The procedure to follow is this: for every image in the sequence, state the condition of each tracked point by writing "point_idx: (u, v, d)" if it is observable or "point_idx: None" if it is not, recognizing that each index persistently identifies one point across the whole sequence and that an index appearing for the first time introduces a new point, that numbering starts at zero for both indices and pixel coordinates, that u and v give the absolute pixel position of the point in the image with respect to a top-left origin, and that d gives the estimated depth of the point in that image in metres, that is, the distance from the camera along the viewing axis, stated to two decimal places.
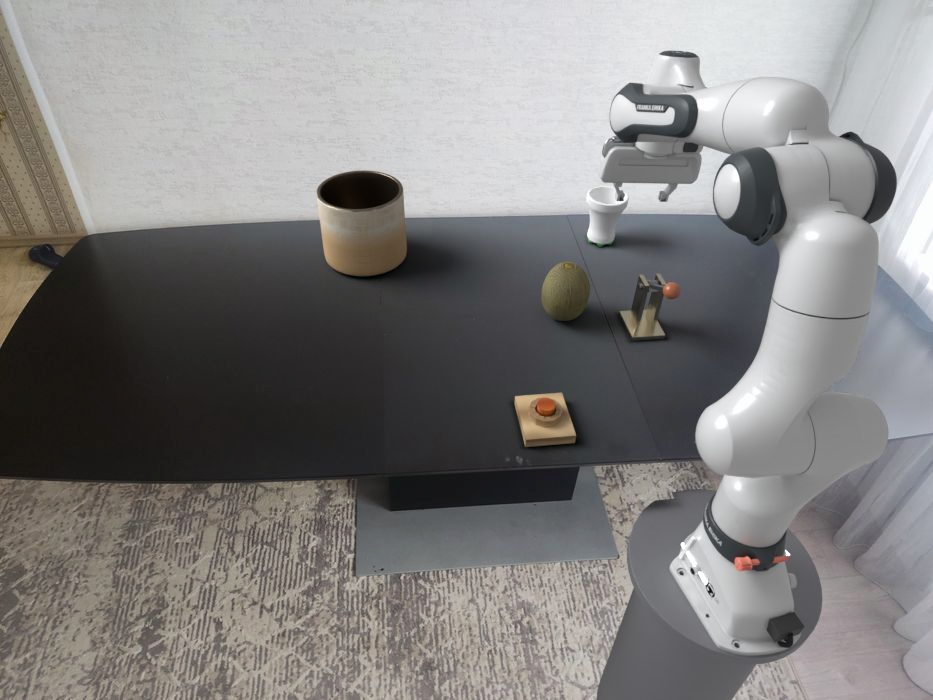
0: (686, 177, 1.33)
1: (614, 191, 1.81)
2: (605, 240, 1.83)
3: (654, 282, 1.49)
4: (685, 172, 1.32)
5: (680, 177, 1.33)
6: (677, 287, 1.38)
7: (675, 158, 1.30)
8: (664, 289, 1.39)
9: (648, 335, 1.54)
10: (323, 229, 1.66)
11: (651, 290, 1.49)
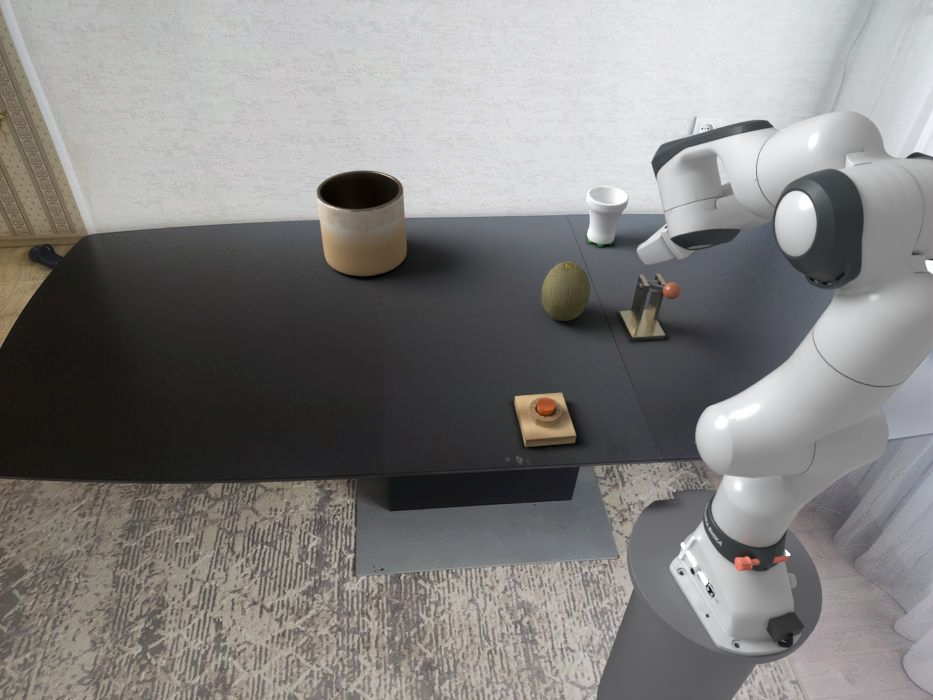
0: (646, 242, 1.23)
1: (614, 191, 1.81)
2: (605, 240, 1.83)
3: (654, 282, 1.49)
4: (651, 239, 1.22)
5: (650, 238, 1.24)
6: (677, 287, 1.38)
7: None
8: (664, 289, 1.39)
9: (648, 335, 1.54)
10: (323, 229, 1.66)
11: (651, 290, 1.49)
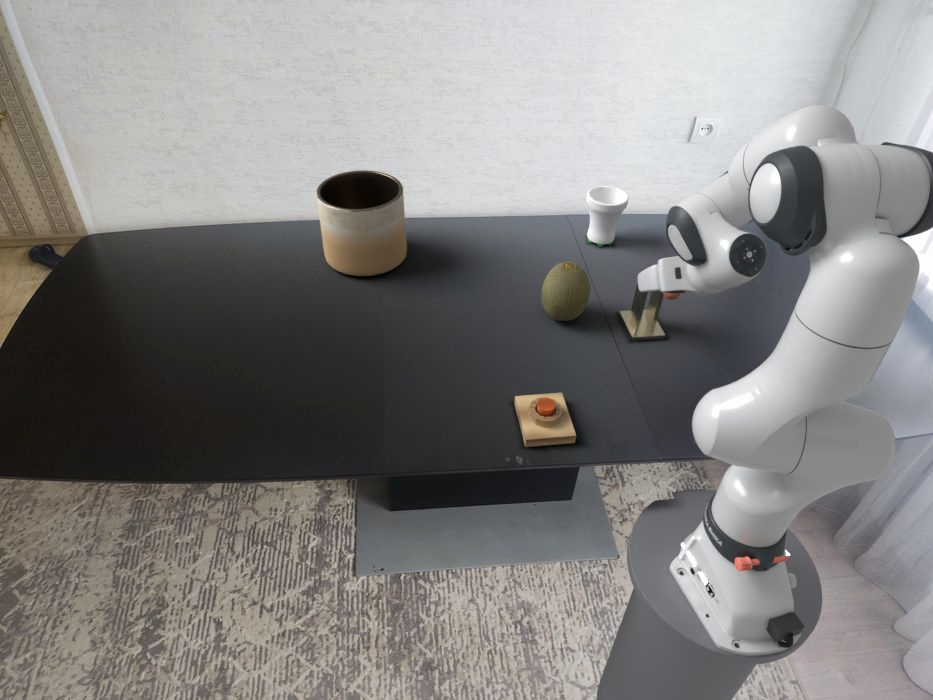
0: None
1: (614, 191, 1.81)
2: (605, 240, 1.83)
3: None
4: None
5: None
6: None
7: None
8: None
9: (648, 335, 1.54)
10: (323, 229, 1.66)
11: None
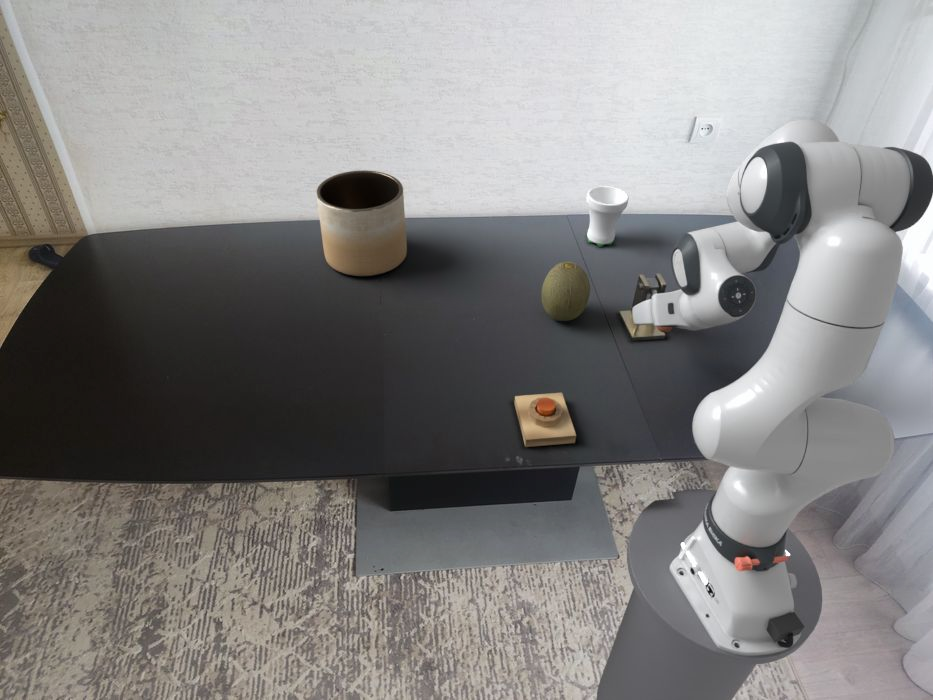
0: None
1: (614, 191, 1.81)
2: (605, 240, 1.83)
3: (654, 288, 1.49)
4: None
5: None
6: (670, 327, 1.42)
7: None
8: None
9: (648, 335, 1.54)
10: (323, 229, 1.66)
11: (649, 293, 1.50)
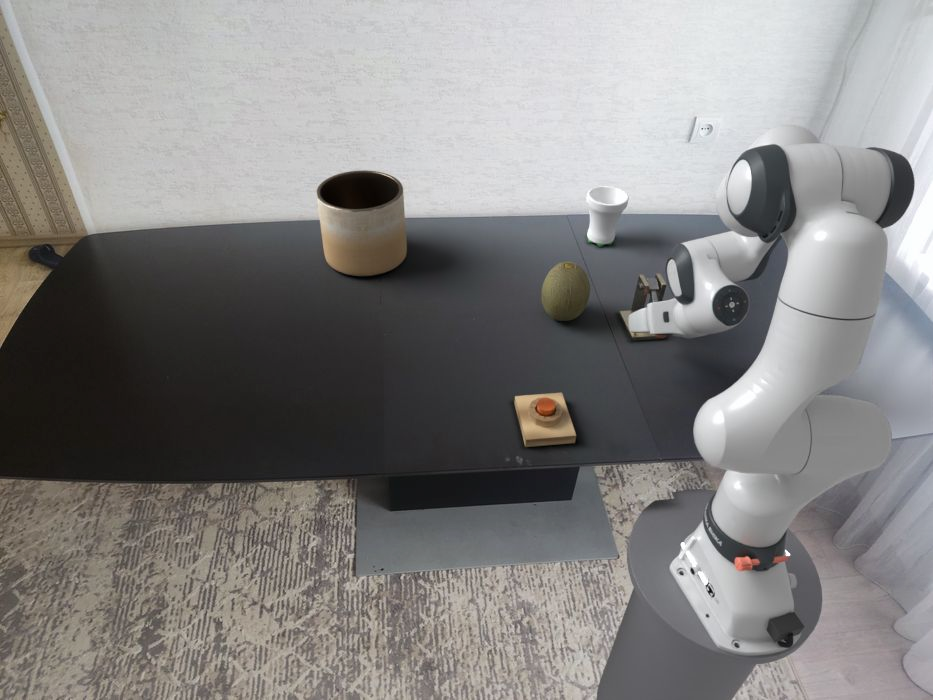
0: None
1: (614, 191, 1.81)
2: (605, 240, 1.83)
3: (654, 289, 1.49)
4: None
5: None
6: None
7: None
8: None
9: (648, 335, 1.54)
10: (323, 229, 1.66)
11: (649, 293, 1.50)
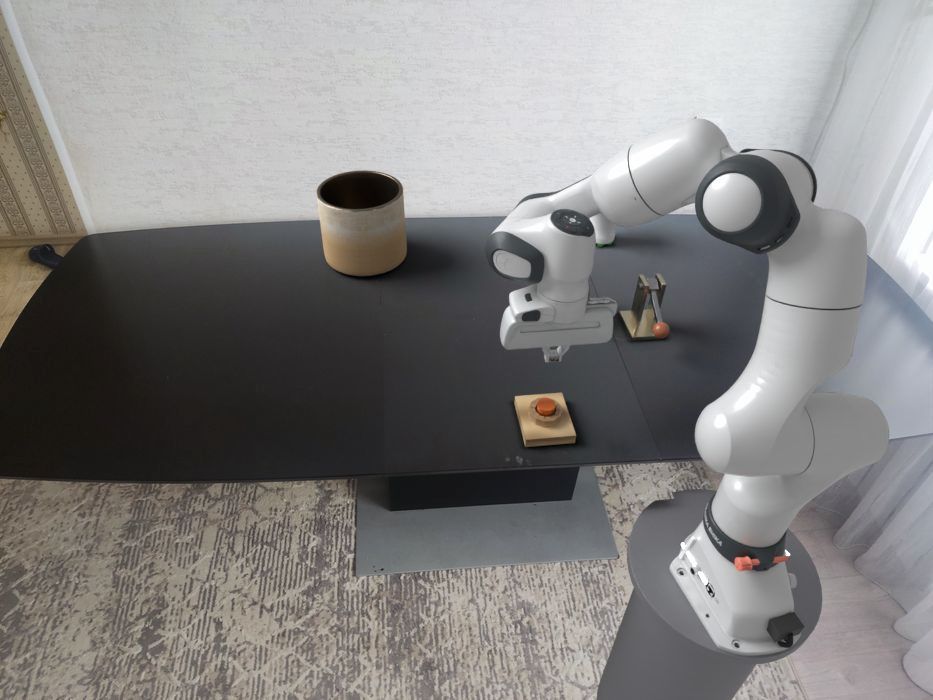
0: None
1: None
2: (605, 240, 1.83)
3: (654, 289, 1.49)
4: None
5: None
6: (666, 334, 1.45)
7: None
8: (654, 331, 1.45)
9: (648, 335, 1.54)
10: (323, 229, 1.66)
11: (649, 293, 1.50)
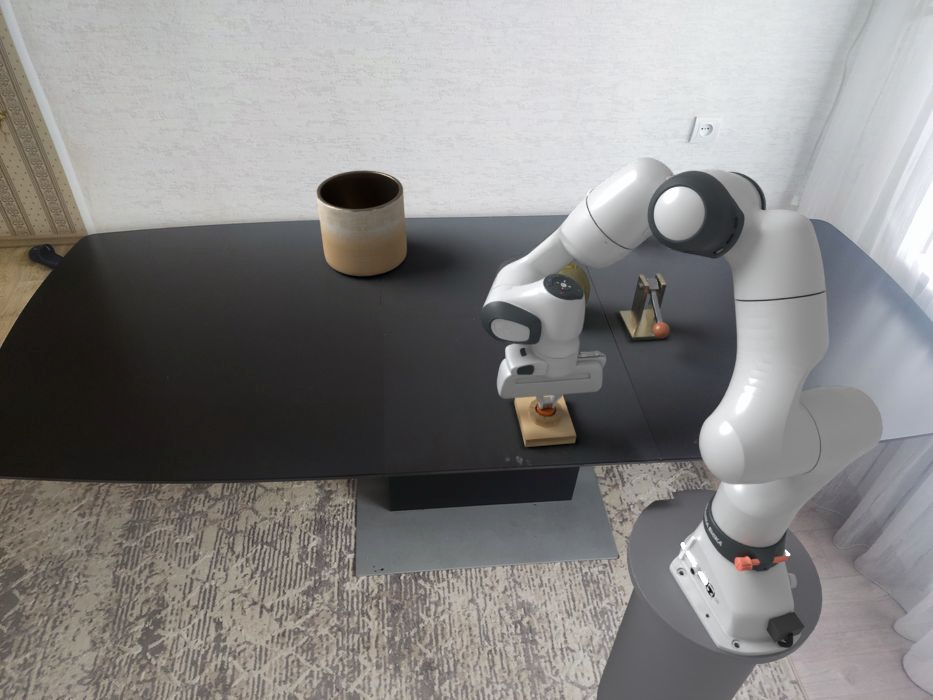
0: None
1: None
2: None
3: (654, 289, 1.49)
4: None
5: None
6: (666, 334, 1.45)
7: None
8: (654, 331, 1.45)
9: (648, 335, 1.54)
10: (323, 229, 1.66)
11: (649, 293, 1.50)
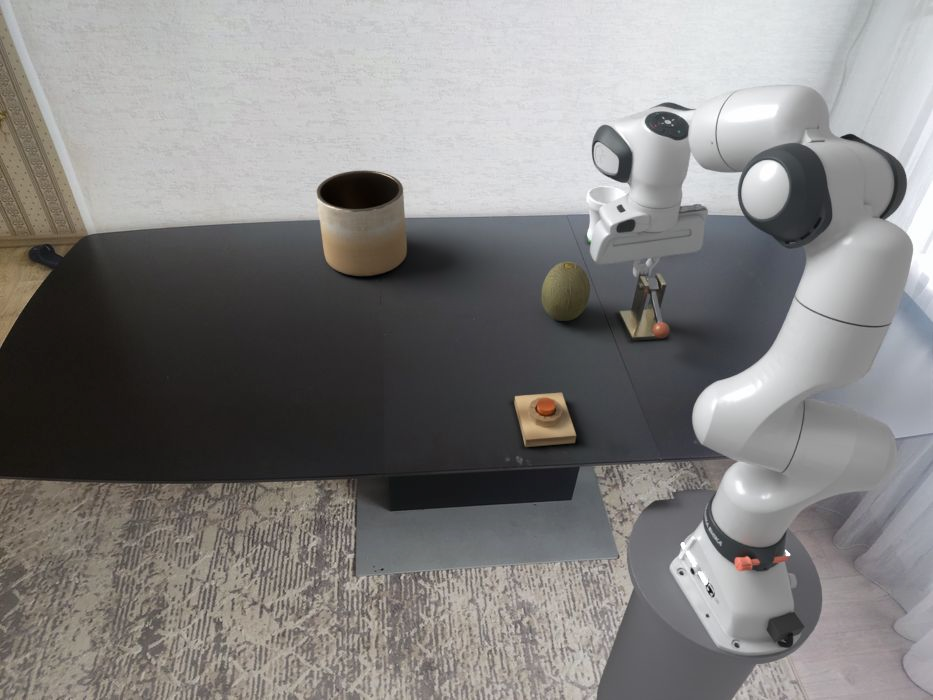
0: None
1: (614, 191, 1.81)
2: None
3: (654, 289, 1.49)
4: None
5: None
6: (666, 334, 1.45)
7: None
8: (654, 331, 1.45)
9: (648, 335, 1.54)
10: (323, 229, 1.66)
11: (649, 293, 1.50)
